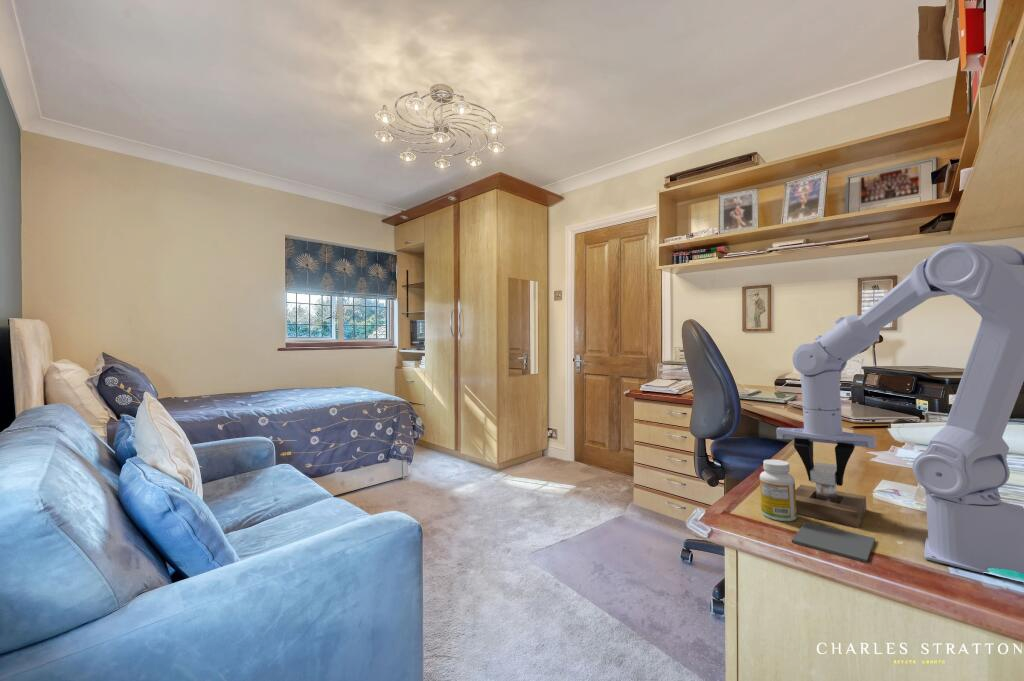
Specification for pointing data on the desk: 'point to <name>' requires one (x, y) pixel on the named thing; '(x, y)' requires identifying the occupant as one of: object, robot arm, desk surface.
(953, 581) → the desk surface
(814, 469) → the steel t key
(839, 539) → the charcoal mat
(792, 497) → the supplement bottle
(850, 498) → the socket block
